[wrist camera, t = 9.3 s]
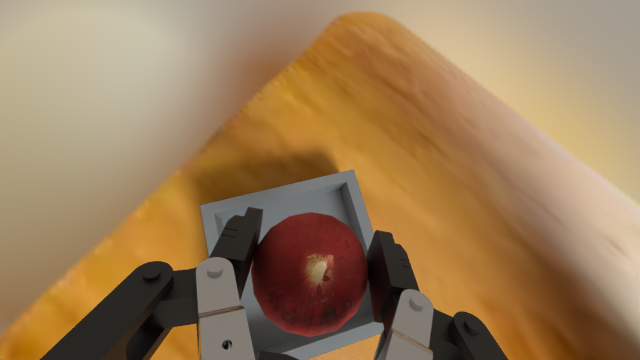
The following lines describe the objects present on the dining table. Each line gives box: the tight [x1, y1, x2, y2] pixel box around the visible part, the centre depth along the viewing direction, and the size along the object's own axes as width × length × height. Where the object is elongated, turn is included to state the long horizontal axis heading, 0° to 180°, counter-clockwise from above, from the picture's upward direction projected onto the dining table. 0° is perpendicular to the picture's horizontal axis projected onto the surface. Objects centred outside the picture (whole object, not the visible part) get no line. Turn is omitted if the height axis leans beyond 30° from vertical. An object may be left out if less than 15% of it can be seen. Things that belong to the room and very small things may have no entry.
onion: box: [251, 212, 369, 337], centre depth 14 cm, size 6×6×8 cm
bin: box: [200, 169, 384, 360], centre depth 26 cm, size 14×14×4 cm
